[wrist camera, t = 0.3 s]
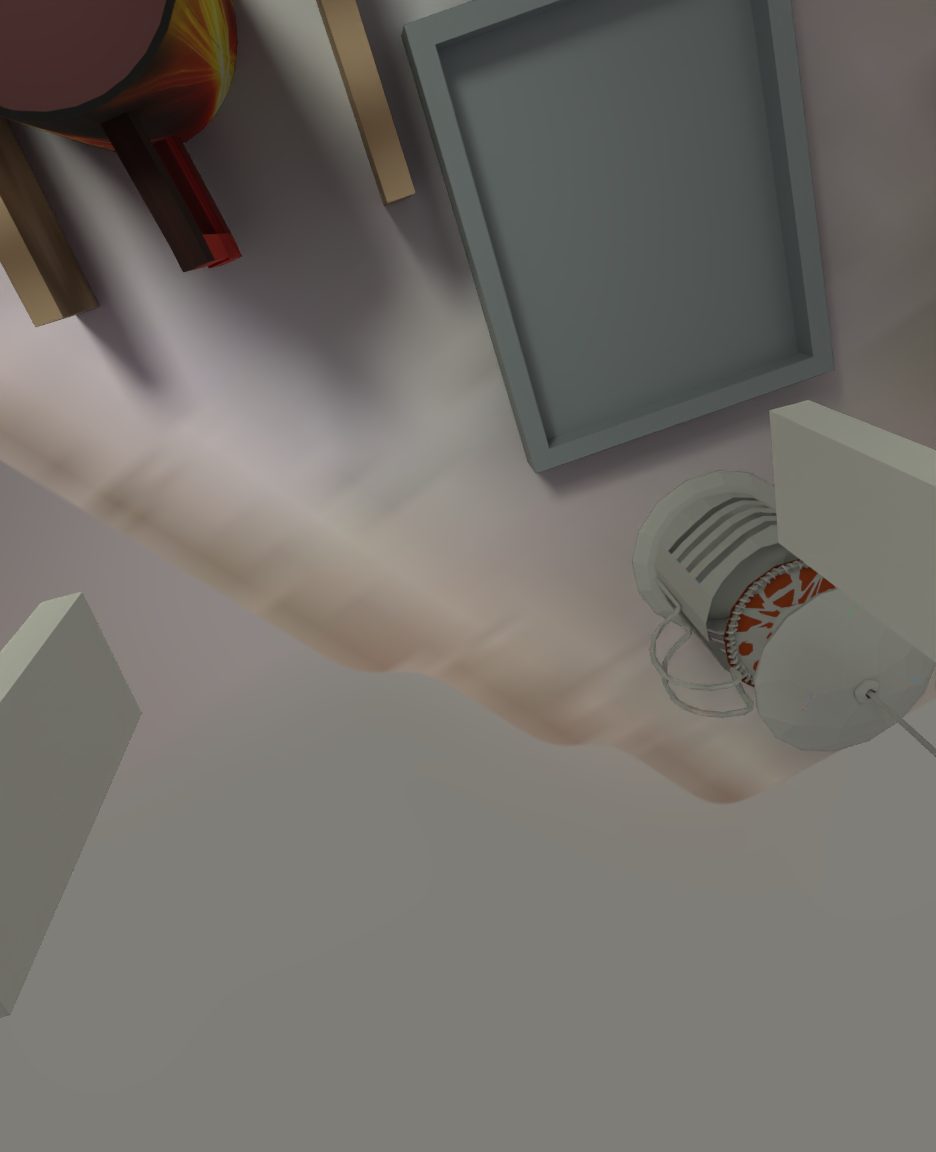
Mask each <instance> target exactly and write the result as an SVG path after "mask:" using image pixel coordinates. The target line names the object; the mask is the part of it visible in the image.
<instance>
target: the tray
mask: <svg viewBox="0 0 936 1152" xmlns="http://www.w3.org/2000/svg"><path fill="white" fill-rule="evenodd" d="M402 40H403V43H404V46H405V50H406V53H407V56H408V60H409V63H410V67H411V70H412V73H413V77H414V80H415V83H416V87H417V90H418V93H419V97H420V100H421V104H422V107H423V110H424V114H425V117H426V120H427V124H428V127H429V131H430V134H431V137H432V141H433V144H434V147H435V151H436V154H437V157H438V161H439V164H440V168H441V171H442V174H443V178H444V181H445V184H446V188H447V191H448V195H449V198H450V201H451V205H452V208H453V211H454V215H455V218H456V221H457V225H458V228H459V232H460V235H461V238H462V242H463V245H464V248H465V252H466V255H467V259H468V262H469V265H470V269H471V272H472V275H473V279H474V282H475V285H476V289H477V292H478V296H479V299H480V302H481V306H482V309H483V312H484V316H485V319H486V323H487V326H488V329H489V333H490V336H491V339H492V343H493V346H494V349H495V353H496V356H497V360H498V363H499V366H500V370H501V373H502V376H503V380H504V383H505V387H506V390H507V393H508V397H509V400H510V403H511V407H512V410H513V413H514V417H515V420H516V424H517V427H518V430H519V434H520V437H521V440H522V444H523V447H524V451H525V454H526V457H527V461H528V463H529V465H530V466H531V467H532V469H533V470H534V471H535V473H539V472H542V471H545V470H548V469H550V468H553V467H556V466H559V465H562V464H565V463H568V462H570V461H573V460H576V459H579V458H582V457H585V456H588V455H591V454H593V453H596V452H599V451H602V450H605V449H608V448H611V447H614V446H616V445H619V444H622V443H625V442H628V441H631V440H634V439H637V438H639V437H642V436H645V435H648V434H651V433H654V432H657V431H660V430H662V429H665V428H668V427H671V426H674V425H677V424H680V423H683V422H685V421H688V420H691V419H694V418H697V417H700V416H703V415H706V414H708V413H711V412H714V411H717V410H720V409H723V408H726V407H729V406H731V405H734V404H737V403H740V402H743V401H746V400H749V399H752V398H754V397H757V396H760V395H763V394H766V393H769V392H772V391H775V390H777V389H780V388H783V387H786V386H789V385H792V384H795V383H798V382H800V381H803V380H806V379H809V378H812V377H815V376H818V375H821V374H823V373H826V372H829V371H832V370H834V361H833V353H832V344H831V336H830V327H829V319H828V310H827V302H826V293H825V285H824V276H823V268H822V259H821V251H820V242H819V234H818V225H817V217H816V208H815V200H814V191H813V183H812V174H811V166H810V157H809V149H808V140H807V132H806V123H805V115H804V106H803V98H802V89H801V81H800V72H799V64H798V55H797V47H796V38H795V30H794V21H793V13H792V4H791V0H472V1H470V2H467V3H464V4H461V5H458V6H456V7H453V8H450V9H447V10H444V11H442V12H439V13H436V14H433V15H430V16H428V17H425V18H422V19H419V20H416V21H414V22H411V23H408V24H405V25H404V27H403V32H402Z"/></svg>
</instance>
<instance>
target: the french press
mask: <svg viewBox="0 0 936 1152" xmlns="http://www.w3.org/2000/svg"><path fill="white" fill-rule="evenodd" d="M632 563H633V568H634V573H635V578H636V583H637V588H638V591H639V593H640V594H641V595H642V597H643V598H644V599H645V600H646V602H647V603H648V604H649V606H650V607H651V608H652V609H653V611H654V612H655V613H656V614H658V615H660V616H662V617H664V618H666V619H665V620H664V621H663V622H662V623H661V624H660V625H659V626H658V628H657V629H656V631H655V632H654V634H653V636H652V640H651V645H650V656H651V661H652V663H653V665H654V666H655V668H656V669H657V670H658V672H659V673H660V675H661V676H662V681H663V685H664V687H665V689H666V690H667V692H668V694H669V696H670V698H671V700H672V701H673V702H674V703H676V704H677V705H678V706H680V707H681V708H682V709H684V710H687V711H690V712H692V713H695V714H698V715H700V716H710V717H721V718H724V717H732V716H740V715H746V714H747V713H749V712H750V711H751V710H753V704H754V702H753V701H752V700H751V699H750V697H749V696H748V695H747V694H746V693H745V691H744V689H743V687H742V684H741V681H742V682H744V683H746V684H748V685H751V686H753V687H755V695H756V704H757V710H758V713H759V715H760V717H761V718H762V719H763V721H764V722H765V723H766V725H767V726H768V727H769V729H770V730H771V731H772V733H773V734H774V735H775V737H776V738H778V739H780V740H782V741H784V742H786V743H788V744H791V745H793V746H795V747H797V748H799V749H801V750H817V751H837V750H840V749H844V748H847V747H850V746H853V745H857V744H860V743H863V742H867V741H869V740H871V739H872V738H874V737H876V736H877V735H879V734H880V733H882V732H883V731H884V730H886V729H888V728H889V727H891V726H892V725H894V724H895V723H897V722H898V723H899V724H900V725H901V726H903V727H904V728H905V729H906V730H907V731H908V732H909V733H910V734H911V735H912V736H913V737H914V738H916V739H917V740H918V741H919V742H920V743H921V744H922V745H923V746H924V747H925V748H926V749H928V750H929V751H930V752H931V753H932V754H933V755H934V756H935V757H936V749H935V748H934V747H933V746H932V745H931V744H930V743H929V742H928V741H926V740H925V739H924V738H923V737H922V736H921V735H920V734H919V733H918V732H916V731H915V730H914V729H913V728H912V727H911V726H910V725H909V724H908V723H906V722H905V721H904V720H903V719H902V718H903V716H904V715H905V714H906V713H907V712H908V711H909V710H910V708H911V707H912V706H913V705H914V704H915V703H916V701H917V700H918V699H919V698H920V697H921V696H922V695H923V693H924V692H925V689H926V687H927V684H928V682H929V679H930V677H931V674H932V672H933V669H934V667H935V664H936V663H935V662H934V661H933V660H931V659H930V658H929V657H928V656H926V655H925V654H924V653H922V652H921V651H920V650H918V649H917V648H916V647H914V646H913V645H912V644H910V643H909V642H908V641H907V640H905V639H904V638H903V637H901V636H900V635H899V634H897V633H896V632H895V631H893V630H892V629H891V628H889V627H888V626H887V625H886V624H884V623H883V622H882V621H880V620H879V619H878V618H876V617H875V616H874V615H872V614H871V613H870V612H868V611H867V610H866V609H865V608H863V607H862V606H861V605H859V604H858V603H857V602H855V601H854V600H853V599H851V598H850V597H849V596H847V595H846V594H845V593H844V592H842V591H841V590H840V589H838V588H837V587H836V586H834V585H833V584H832V583H830V582H829V581H828V580H826V579H825V578H824V577H823V576H821V575H820V574H819V573H817V572H816V571H815V570H813V569H812V568H811V567H809V566H808V565H807V564H805V563H804V562H803V561H802V560H800V559H799V558H798V557H796V556H795V555H794V554H792V553H791V552H790V551H788V550H787V549H786V548H784V547H783V546H782V545H781V544H779V543H778V530H777V515H776V501H775V487H774V486H773V485H771V484H769V483H768V482H766V481H764V480H762V479H761V478H759V477H757V476H756V475H754V474H752V473H744V472H733V471H722V470H719V471H716V472H712V473H709V474H706V475H702V476H699V477H696V478H693V479H689V480H686V481H685V482H684V483H682V484H681V485H680V486H678V487H677V488H676V489H674V490H673V491H672V492H670V493H669V494H668V495H666V496H665V497H664V498H662V499H661V500H660V501H658V503H657V504H656V506H655V507H654V509H653V510H652V512H651V513H650V515H649V516H648V518H647V519H646V521H645V522H644V524H643V525H642V527H641V528H640V530H639V533H638V538H637V543H636V547H635V552H634V556H633V561H632ZM670 621H672V622H674V623H676V624H678V625H680V626H684V627H685V628H686V632H687V633H686V634H685V635H684V636H683V637H682V638H681V639H680V640H679V641H678V642H677V643H676V644H675V645H674V646H673V647H672V648H671V649H670V651H669V652H668V654H667V656H666V657H665V659H664V661H663V663H662V666H661V665H660V663H659V661H658V659H657V658H656V656H655V651H656V639H657V637H658V636H659V634H660V633H661V631H662V629H663V628H664V627H665V626H666V625H667V624H668V623H669V622H670ZM691 629H692V631H693V632H694V633H695V634H696V635H697V637H698V638H699V639H700V640H701V641H702V643H703V644H704V645H705V646H706V647H707V649H708V650H709V651H710V652H711V653H712V655H713V656H714V657H715V658H716V659H717V661H718V662H719V663H720V664H721V665H722V666H723V668H724V669H725V670H727V671H728V672H730V673H731V675H732V678H733V681H732V682H728V683H722V684H716V685H701V684H690V683H686V682H683V681H680V680H677V679H674V678H673V677H671V676H669V675H668V674H667V664H668V661H669V660H670V658H671V656H672V655H673V653H674V652H675V651H676V650H677V649H678V648H679V647H680V646H681V645H682V644H683V643H684V642H685V641H686V640H687V639H688V638H689V637H690V635H691V633H692V631H691ZM707 629H711V630H714V631H725V634H724V635H718V634H714V633H711V632H708V631H707ZM710 637H712V638H716V639H719V640H723V641H724V642H725V644H722V643H718V642H715V641H713V640H712V639H711V638H710ZM720 648H722V649H725V650H726V653H724V652H722V651H721V650H720ZM668 681H669V682H671V683H674V684H677V685H680V686H683V687H686V688H690V689H698V690H708V691H713V690H719V689H725V688H731V687H734V686H736V688H737V690H738V692H739V694H740V695H741V697H742V698H743V700H744V701H745V703H746V704H747V708H744V709H739V710H733V711H727V712H716V711H707V710H700V709H698V708H695V707H693V706H690V705H687V704H685V703H684V702H682V701H680V700H679V699H678V698H677V696H676V695H675V694H674V692H673V691H672V690H671V688H670V687H669V685H668Z"/></svg>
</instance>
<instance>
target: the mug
mask: <svg viewBox="0 0 936 1152" xmlns="http://www.w3.org/2000/svg"><path fill="white" fill-rule="evenodd" d="M237 44H238V41H237V28H236V16H235V12H234V8H233V4H232V0H0V117H1V118H4V119H7V120H11V121H14V122H17V123H21V124H24V125H27V126H30V127H34V128H37V129H40V130H43V131H47V132H50V133H53V134H56V135H60V136H63V137H66V138H69V139H73V140H76V141H79V142H82V143H86V144H89V145H92V146H96V147H99V148H103V149H107V150H111V151H115V152H117V154H118V156H119V158H120V159H121V161H122V163H123V165H124V166H125V168H126V170H127V172H128V173H129V175H130V177H131V179H132V180H133V182H134V184H135V186H136V187H137V189H138V191H139V193H140V194H141V196H142V198H143V200H144V201H145V203H146V205H147V207H148V208H149V210H150V212H151V214H152V215H153V217H154V219H155V221H156V222H157V224H158V226H159V228H160V229H161V231H162V233H163V235H164V236H165V238H166V240H167V242H168V243H169V245H170V247H171V249H172V251H173V253H174V255H175V257H176V259H177V261H178V263H179V265H180V267H181V269H182V271H183V272H187V271H190V270H194V269H198V268H202V267H206V266H208V268H213V267H216V266H220V265H223V264H226V263H228V262H230V261H233V260H235V259H237V258H240V257H242V255H241V253H240V251H239V249H238V247H237V244H236V242H235V240H234V238H233V236H232V234H231V232H230V230H229V228H228V226H227V225H226V223H225V221H224V219H223V217H222V215H221V213H220V212H219V210H218V208H217V206H216V204H215V202H214V200H213V198H212V197H211V195H210V193H209V191H208V189H207V187H206V185H205V184H204V182H203V180H202V178H201V176H200V174H199V172H198V171H197V169H196V167H195V165H194V163H193V161H192V159H191V157H190V156H189V154H188V152H187V150H186V148H185V146H184V144H183V143H184V142H186V141H188V140H189V139H190V138H192V137H193V136H194V135H196V134H197V133H198V132H200V131H201V130H202V129H204V127H205V126H206V125H207V124H208V123H209V122H210V120H211V119H212V118H213V117H214V116H215V114H216V113H217V112H218V110H219V108H220V106H221V105H222V103H223V101H224V99H225V97H226V95H227V93H228V91H229V88H230V84H231V81H232V77H233V74H234V71H235V65H236V55H237Z"/></svg>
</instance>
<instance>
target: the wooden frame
mask: <svg viewBox="0 0 936 1152" xmlns="http://www.w3.org/2000/svg"><path fill="white" fill-rule="evenodd" d="M316 1H317V4H318V7H319V10H320V14H321V17H322V20H323V23H324V26H325V29H326V32H327V35H328V38H329V41H330V44H331V47H332V50H333V53H334V56H335V59H336V62H337V65H338V68H339V71H340V74H341V77H342V80H343V83H344V86H345V89H346V92H347V95H348V98H349V101H350V104H351V107H352V110H353V113H354V116H355V119H356V122H357V126H358V129H359V132H360V135H361V138H362V141H363V144H364V147H365V150H366V153H367V156H368V159H369V162H370V165H371V168H372V171H373V174H374V177H375V180H376V183H377V186H378V189H379V192H380V195H381V198H382V201H383V204H384V206H385V205H388V204H391V203H394V202H396V201H399V200H402V199H405V198H408V197H410V196H411V195H413V194H415V189H414V186H413V183H412V180H411V177H410V173H409V170H408V167H407V164H406V161H405V157H404V154H403V151H402V148H401V145H400V141H399V138H398V135H397V132H396V129H395V125H394V122H393V119H392V116H391V113H390V109H389V106H388V103H387V100H386V97H385V93H384V90H383V87H382V84H381V81H380V77H379V74H378V71H377V68H376V65H375V62H374V58H373V55H372V52H371V49H370V46H369V42H368V39H367V36H366V33H365V30H364V26H363V23H362V20H361V17H360V14H359V10H358V7H357V4H356V1H355V0H316ZM0 262H1V264H2V266H3V267H4V269H5V271H6V273H7V275H8V277H9V279H10V281H11V282H12V284H13V286H14V288H15V290H16V292H17V294H18V296H19V297H20V299H21V301H22V303H23V305H24V307H25V309H26V310H27V312H28V314H29V316H30V318H31V320H32V322H33V324H34V325H35V327H38V326H42V325H45V324H48V323H51V322H55V321H58V320H61V319H64V318H67V317H71V316H74V315H77V314H80V313H82V312H85V311H88V310H91V309H94V308H97V307H99V305H98V303H97V301H96V299H95V297H94V295H93V293H92V291H91V289H90V287H89V285H88V283H87V281H86V279H85V277H84V275H83V273H82V271H81V269H80V267H79V265H78V263H77V261H76V259H75V256H74V254H73V252H72V250H71V248H70V246H69V244H68V242H67V240H66V238H65V236H64V234H63V232H62V230H61V228H60V226H59V224H58V222H57V220H56V218H55V216H54V214H53V212H52V210H51V208H50V206H49V204H48V202H47V200H46V198H45V196H44V194H43V192H42V190H41V188H40V186H39V184H38V182H37V180H36V178H35V176H34V174H33V172H32V170H31V168H30V166H29V164H28V162H27V160H26V158H25V156H24V154H23V152H22V149H21V147H20V145H19V143H18V141H17V139H16V137H15V135H14V133H13V131H12V129H11V127H10V125H9V123H8V121H7V119H4V118H1V117H0Z"/></svg>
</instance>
